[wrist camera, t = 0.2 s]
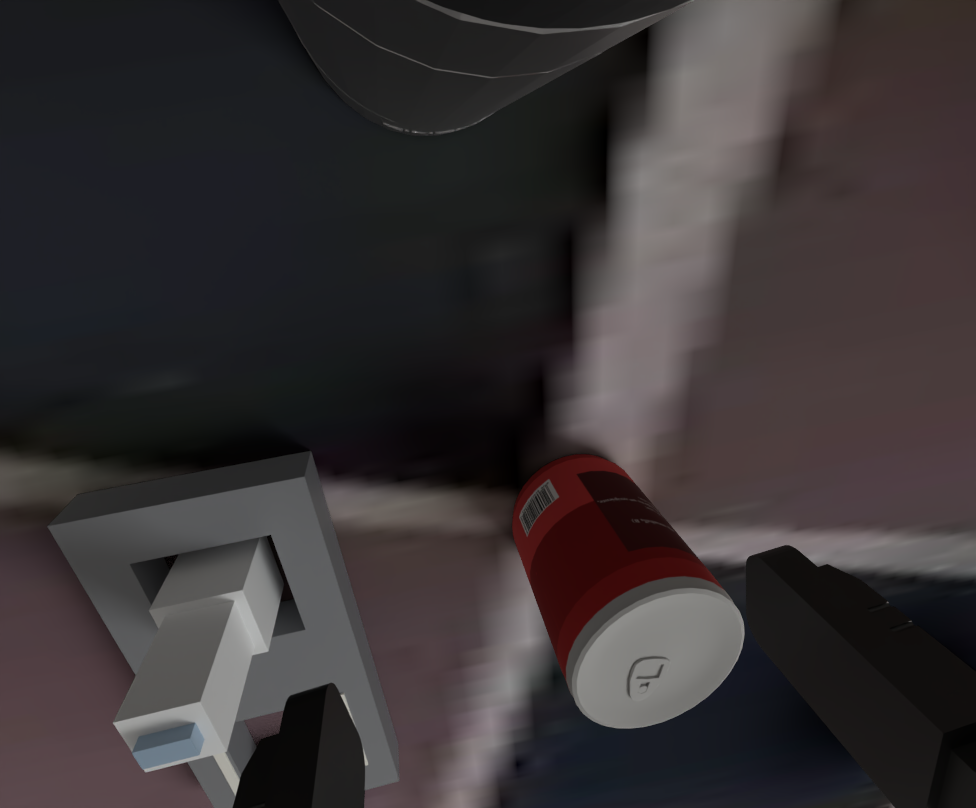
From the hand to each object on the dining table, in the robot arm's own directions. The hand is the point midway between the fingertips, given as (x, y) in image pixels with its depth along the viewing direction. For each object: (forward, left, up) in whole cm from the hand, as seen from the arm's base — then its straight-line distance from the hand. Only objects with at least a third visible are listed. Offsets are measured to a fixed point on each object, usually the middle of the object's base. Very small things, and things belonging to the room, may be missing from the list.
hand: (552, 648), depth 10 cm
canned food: (+11, +6, -18) cm, 22 cm away
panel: (+16, -13, -18) cm, 27 cm away
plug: (+10, -13, -18) cm, 24 cm away
